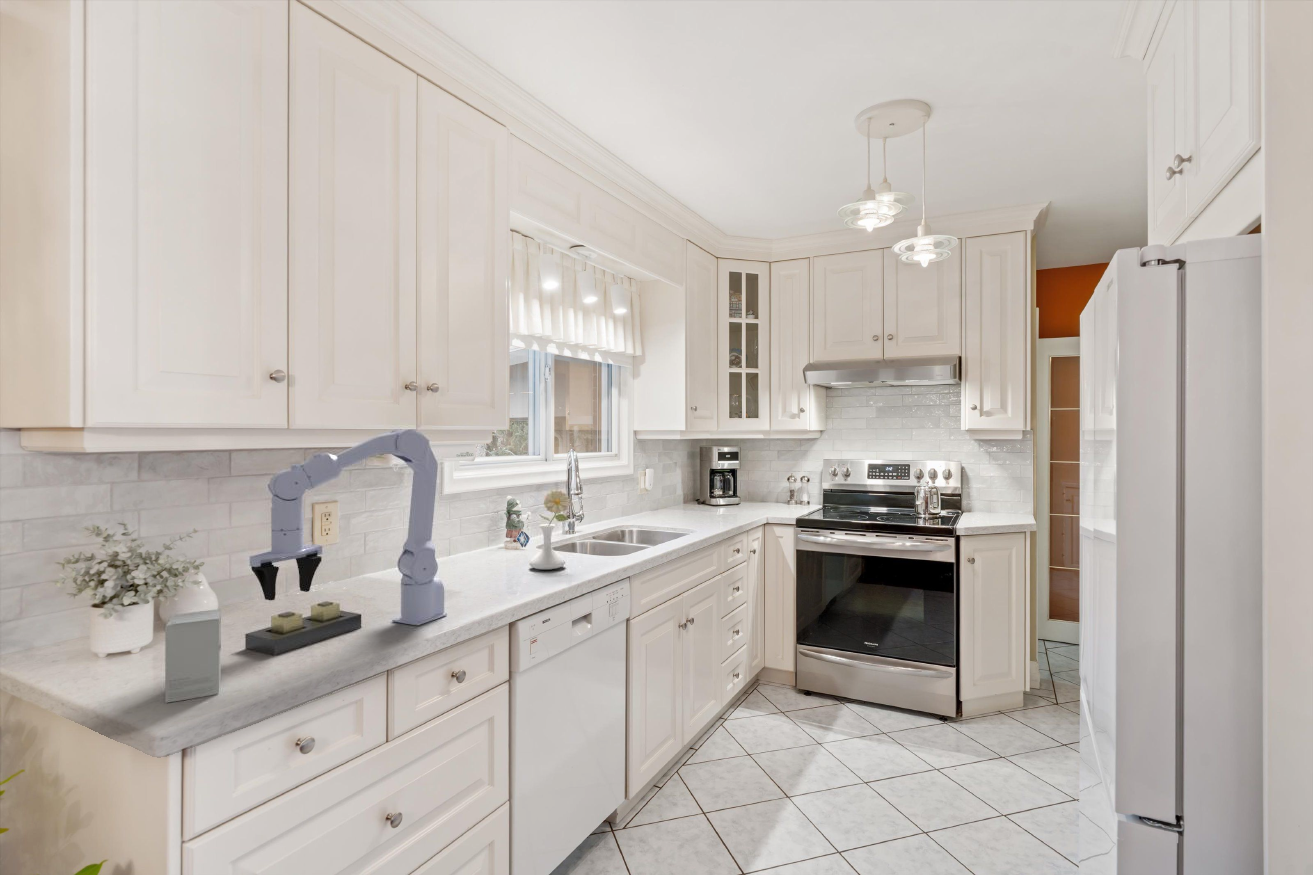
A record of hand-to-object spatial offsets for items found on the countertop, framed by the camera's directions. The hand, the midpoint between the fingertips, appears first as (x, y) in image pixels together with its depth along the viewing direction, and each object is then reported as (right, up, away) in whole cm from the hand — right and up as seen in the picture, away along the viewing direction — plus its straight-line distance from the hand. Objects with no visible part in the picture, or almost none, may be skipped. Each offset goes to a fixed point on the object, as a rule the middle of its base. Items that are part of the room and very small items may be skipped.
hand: (287, 595), depth 133 cm
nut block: (0, -10, -1) cm, 10 cm away
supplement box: (-2, -10, -25) cm, 27 cm away
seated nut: (+4, -10, +8) cm, 13 cm away
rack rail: (+2, -10, +4) cm, 11 cm away
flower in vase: (+42, -10, +73) cm, 85 cm away
